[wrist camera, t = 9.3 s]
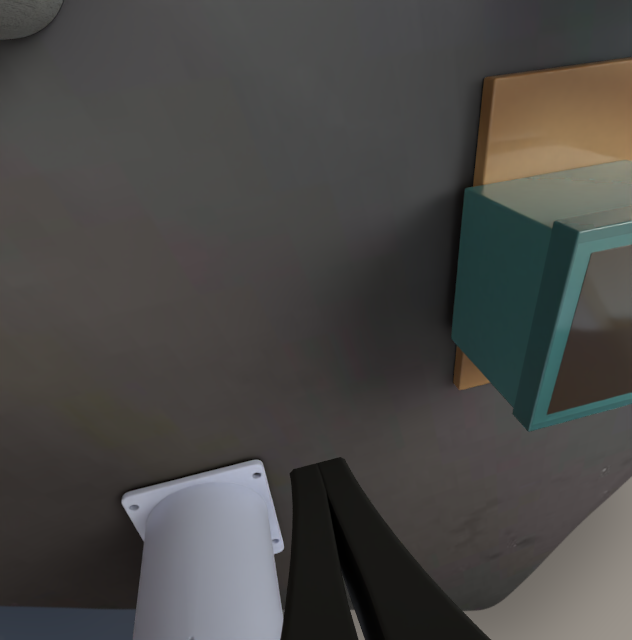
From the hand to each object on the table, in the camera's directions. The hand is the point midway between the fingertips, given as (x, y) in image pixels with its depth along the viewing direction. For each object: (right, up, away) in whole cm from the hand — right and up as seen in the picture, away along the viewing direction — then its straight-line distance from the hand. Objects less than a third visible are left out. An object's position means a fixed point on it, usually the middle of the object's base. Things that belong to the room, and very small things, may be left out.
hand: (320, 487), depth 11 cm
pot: (+7, +5, +7) cm, 11 cm away
